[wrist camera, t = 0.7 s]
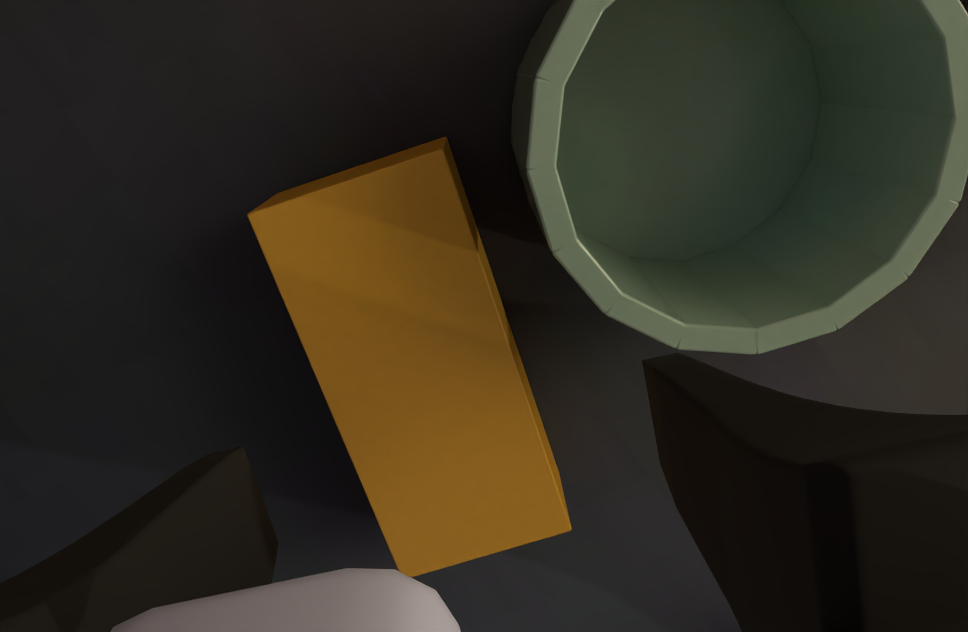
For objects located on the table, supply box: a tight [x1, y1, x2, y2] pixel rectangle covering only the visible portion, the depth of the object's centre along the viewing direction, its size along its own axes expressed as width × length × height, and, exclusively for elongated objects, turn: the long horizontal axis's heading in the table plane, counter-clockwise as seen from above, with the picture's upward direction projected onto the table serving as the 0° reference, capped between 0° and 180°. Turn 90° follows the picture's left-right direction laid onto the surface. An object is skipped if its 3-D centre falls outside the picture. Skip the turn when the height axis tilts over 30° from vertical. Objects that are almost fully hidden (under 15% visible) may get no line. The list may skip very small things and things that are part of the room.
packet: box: [247, 137, 571, 577], centre depth 22 cm, size 5×11×3 cm, turn 18°
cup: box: [510, 0, 968, 354], centre depth 18 cm, size 9×9×6 cm
